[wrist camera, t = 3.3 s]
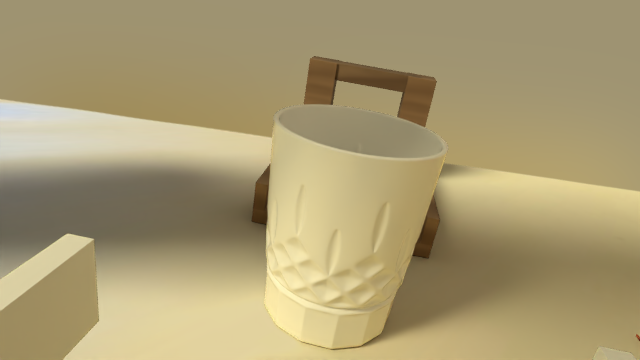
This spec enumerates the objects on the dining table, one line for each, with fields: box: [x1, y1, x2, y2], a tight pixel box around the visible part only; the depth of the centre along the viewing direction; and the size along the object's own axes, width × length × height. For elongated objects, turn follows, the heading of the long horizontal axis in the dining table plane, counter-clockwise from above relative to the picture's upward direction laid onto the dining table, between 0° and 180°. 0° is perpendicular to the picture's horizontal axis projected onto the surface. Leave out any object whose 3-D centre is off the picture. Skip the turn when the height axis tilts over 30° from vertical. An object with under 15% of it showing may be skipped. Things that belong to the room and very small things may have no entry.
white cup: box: [265, 104, 448, 349], centre depth 21 cm, size 8×8×10 cm
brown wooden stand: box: [252, 56, 440, 258], centre depth 35 cm, size 16×12×10 cm
